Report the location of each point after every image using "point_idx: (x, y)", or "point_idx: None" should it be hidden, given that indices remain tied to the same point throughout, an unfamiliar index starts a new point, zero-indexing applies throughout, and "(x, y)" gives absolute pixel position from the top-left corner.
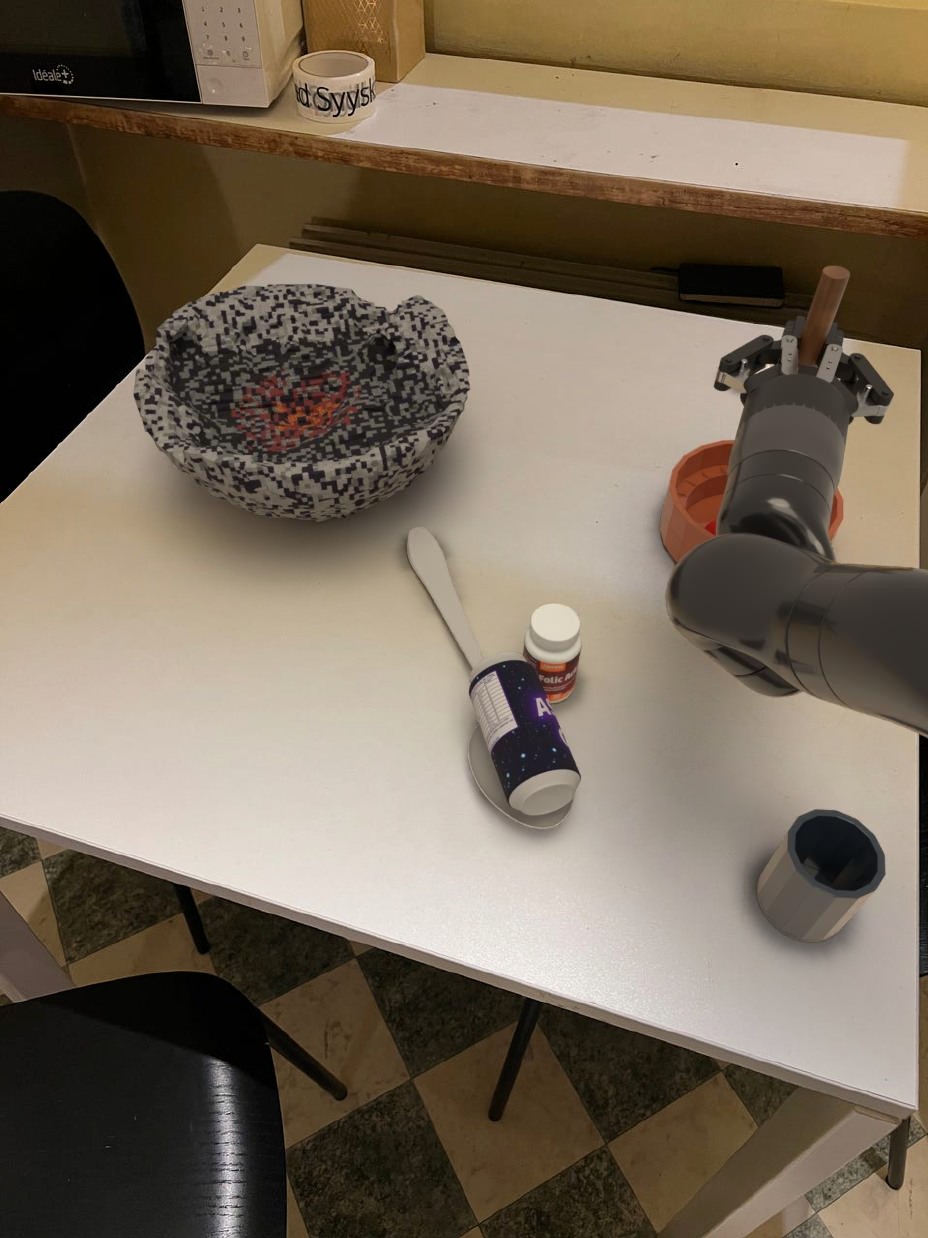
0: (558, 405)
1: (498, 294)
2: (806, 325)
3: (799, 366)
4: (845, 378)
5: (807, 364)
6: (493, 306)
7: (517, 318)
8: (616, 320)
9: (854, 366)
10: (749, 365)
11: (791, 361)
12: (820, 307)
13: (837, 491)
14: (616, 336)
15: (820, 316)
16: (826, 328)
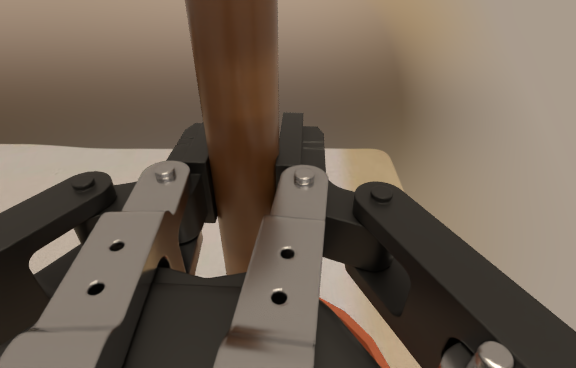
0: (54, 260)
1: (41, 151)
2: (204, 125)
3: (169, 291)
4: (360, 262)
5: (250, 226)
6: (31, 162)
7: (50, 170)
8: (146, 157)
9: (382, 235)
10: (10, 298)
11: (100, 295)
12: (212, 55)
13: (381, 358)
14: (142, 171)
15: (226, 87)
16: (262, 124)
